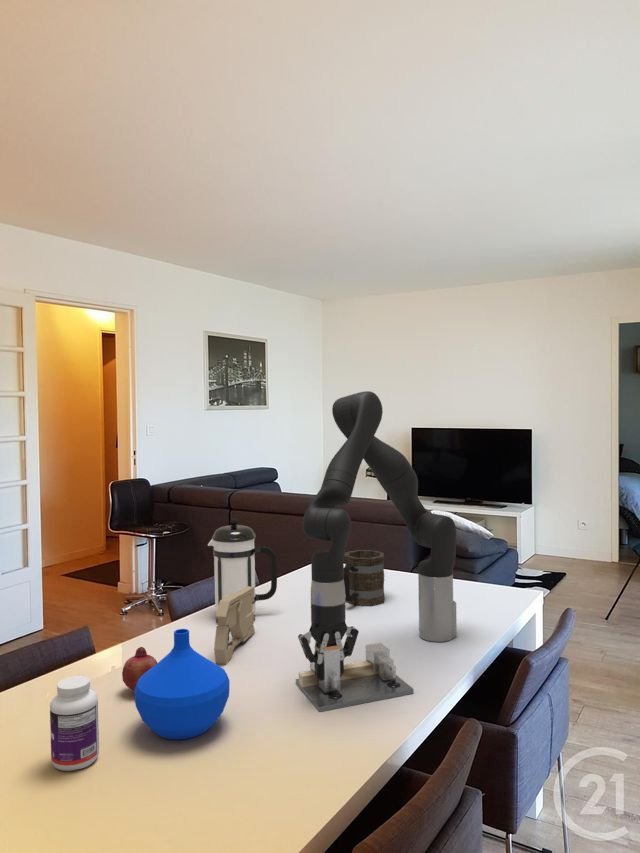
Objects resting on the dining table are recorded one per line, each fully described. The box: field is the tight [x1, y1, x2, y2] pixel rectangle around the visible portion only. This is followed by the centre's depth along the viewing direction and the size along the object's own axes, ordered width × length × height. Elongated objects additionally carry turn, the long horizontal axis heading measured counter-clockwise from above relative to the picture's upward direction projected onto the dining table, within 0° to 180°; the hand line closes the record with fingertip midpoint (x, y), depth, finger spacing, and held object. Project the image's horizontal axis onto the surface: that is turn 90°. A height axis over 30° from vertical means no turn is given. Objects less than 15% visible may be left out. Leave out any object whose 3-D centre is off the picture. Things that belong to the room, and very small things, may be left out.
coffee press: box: [207, 517, 278, 624], centre depth 196 cm, size 17×16×30 cm
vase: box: [133, 628, 230, 741], centre depth 128 cm, size 18×18×19 cm
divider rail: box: [298, 660, 379, 687], centre depth 149 cm, size 22×2×2 cm, turn 111°
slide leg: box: [309, 644, 340, 695], centre depth 143 cm, size 4×11×10 cm, turn 21°
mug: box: [344, 549, 386, 607], centre depth 208 cm, size 20×14×15 cm
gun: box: [213, 586, 256, 666], centre depth 171 cm, size 24×3×15 cm, turn 168°
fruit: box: [121, 646, 158, 691], centre depth 145 cm, size 8×8×10 cm
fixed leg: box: [365, 642, 397, 684], centre depth 149 cm, size 4×11×5 cm, turn 21°
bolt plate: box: [295, 674, 414, 713], centre depth 145 cm, size 22×15×1 cm
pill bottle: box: [49, 675, 100, 772], centre depth 116 cm, size 8×8×14 cm
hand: (329, 677), depth 142 cm, fingers closed on slide leg, 3 cm apart
